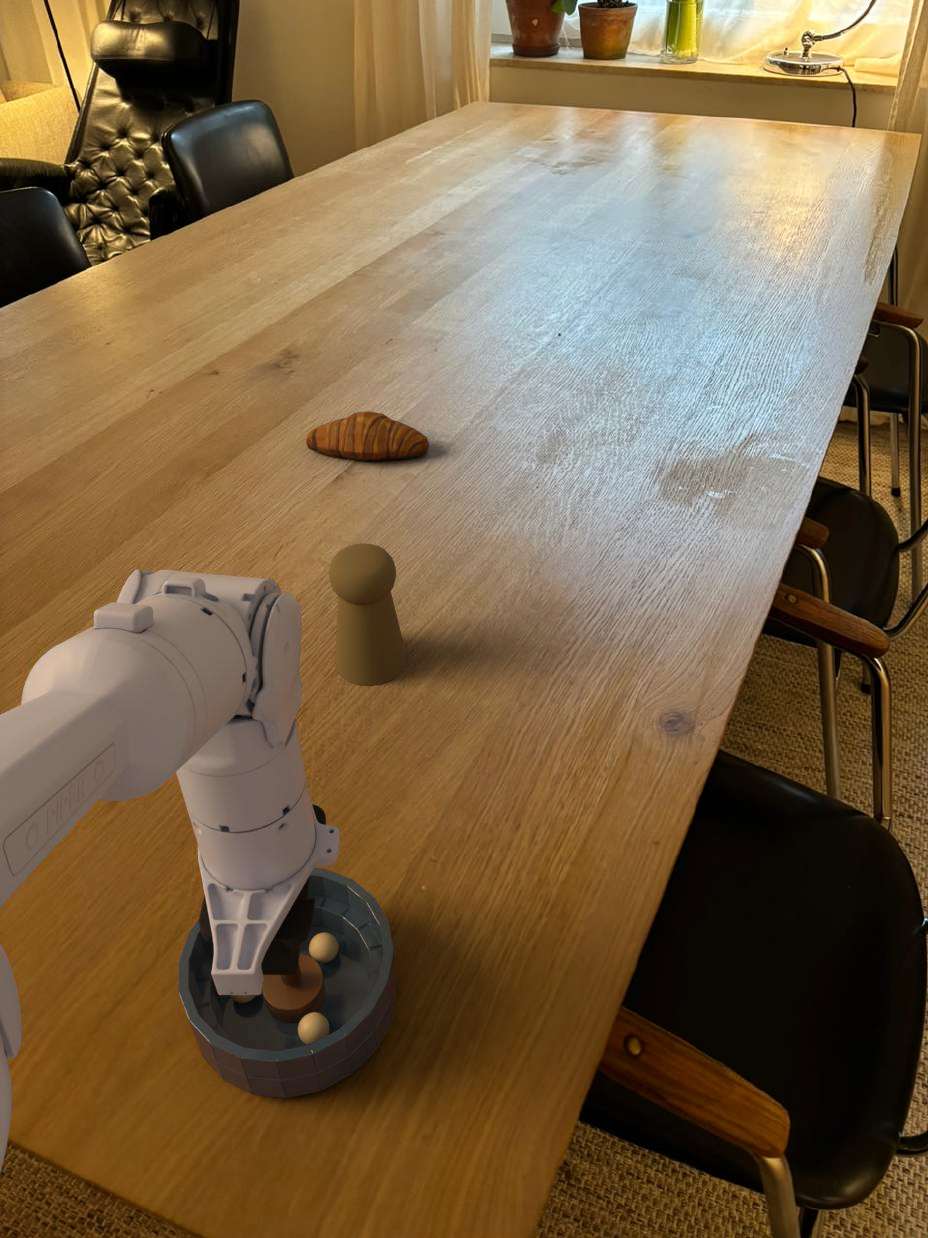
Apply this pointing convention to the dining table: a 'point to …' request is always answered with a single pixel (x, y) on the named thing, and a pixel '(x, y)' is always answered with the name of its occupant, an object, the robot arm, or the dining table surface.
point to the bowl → (354, 1006)
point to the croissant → (367, 438)
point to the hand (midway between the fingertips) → (282, 940)
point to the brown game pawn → (366, 616)
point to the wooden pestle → (295, 991)
